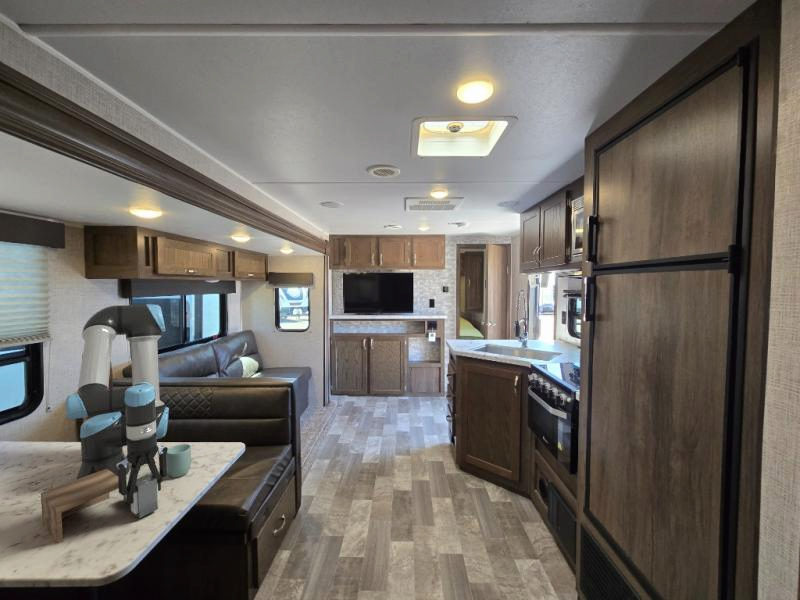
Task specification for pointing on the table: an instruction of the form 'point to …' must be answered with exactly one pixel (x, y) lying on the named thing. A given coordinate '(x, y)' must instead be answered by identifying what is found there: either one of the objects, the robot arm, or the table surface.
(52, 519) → the brown piece
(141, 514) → the grey toy mallet
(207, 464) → the table surface
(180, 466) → the cup
